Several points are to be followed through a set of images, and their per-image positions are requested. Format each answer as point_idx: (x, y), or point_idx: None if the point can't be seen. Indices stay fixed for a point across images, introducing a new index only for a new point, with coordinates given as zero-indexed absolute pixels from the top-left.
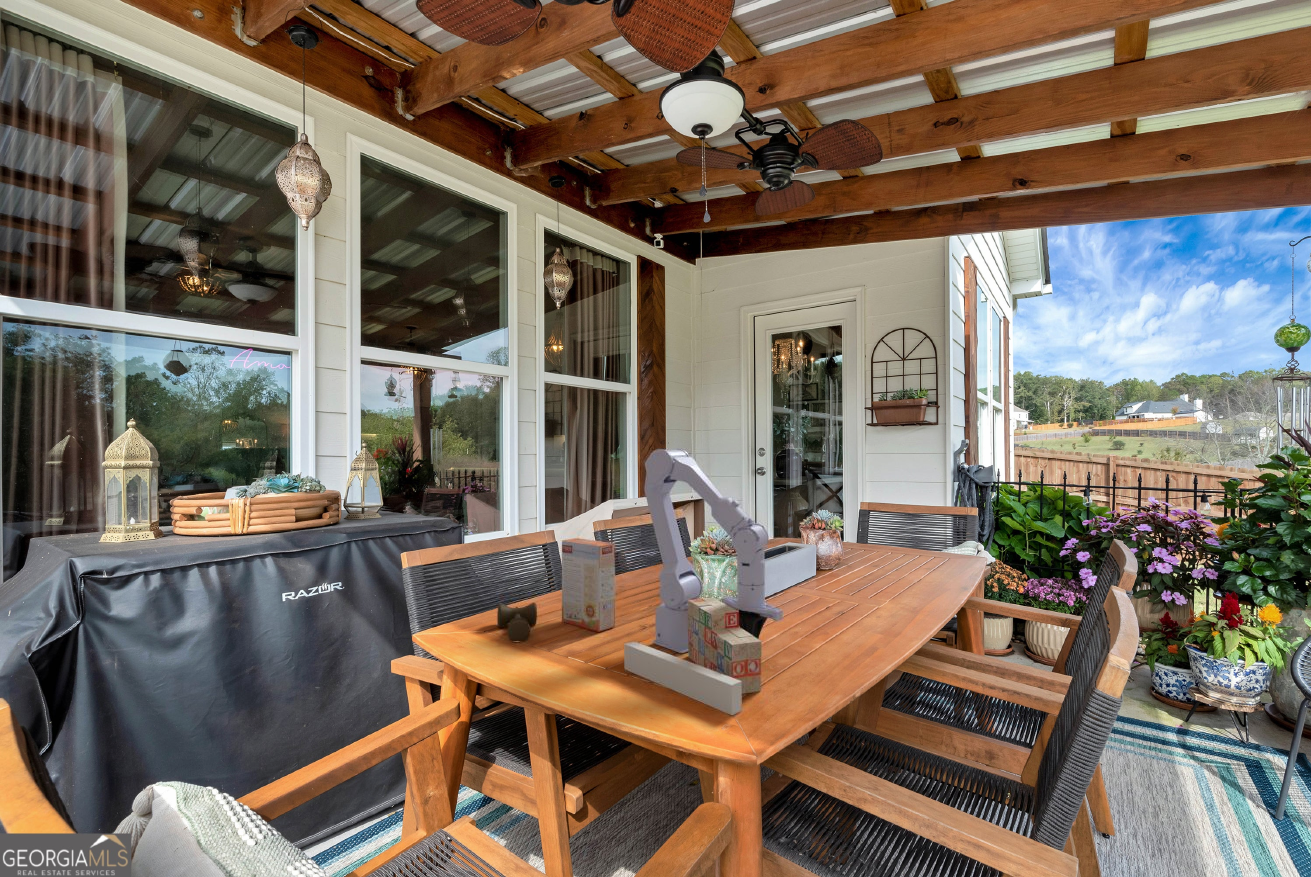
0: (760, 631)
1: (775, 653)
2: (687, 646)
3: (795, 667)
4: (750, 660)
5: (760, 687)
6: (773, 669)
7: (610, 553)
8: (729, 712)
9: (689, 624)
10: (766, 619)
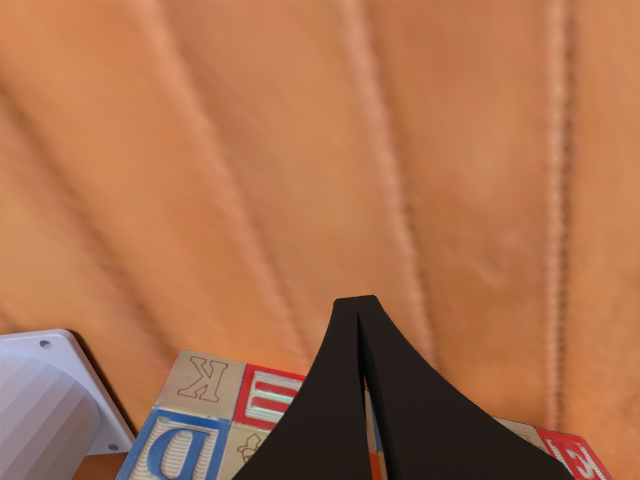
0: (425, 363)
1: (372, 95)
2: (97, 427)
3: (599, 178)
4: None
5: (592, 451)
6: (514, 285)
7: None
8: None
9: None
10: (545, 457)
